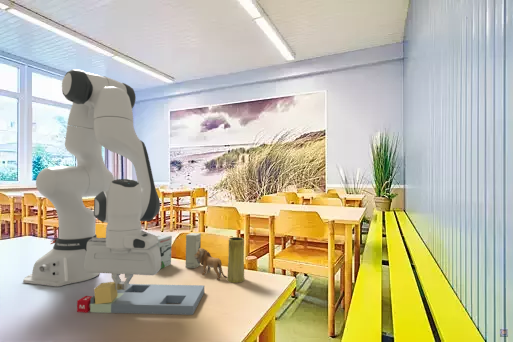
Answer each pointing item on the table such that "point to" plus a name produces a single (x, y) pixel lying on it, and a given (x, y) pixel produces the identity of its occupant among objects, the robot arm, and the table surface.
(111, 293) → the block
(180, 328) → the table surface
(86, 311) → the red letter cube
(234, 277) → the vase
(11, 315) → the table surface
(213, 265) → the lion figurine
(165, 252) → the ink box
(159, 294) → the board
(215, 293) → the table surface
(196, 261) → the box
